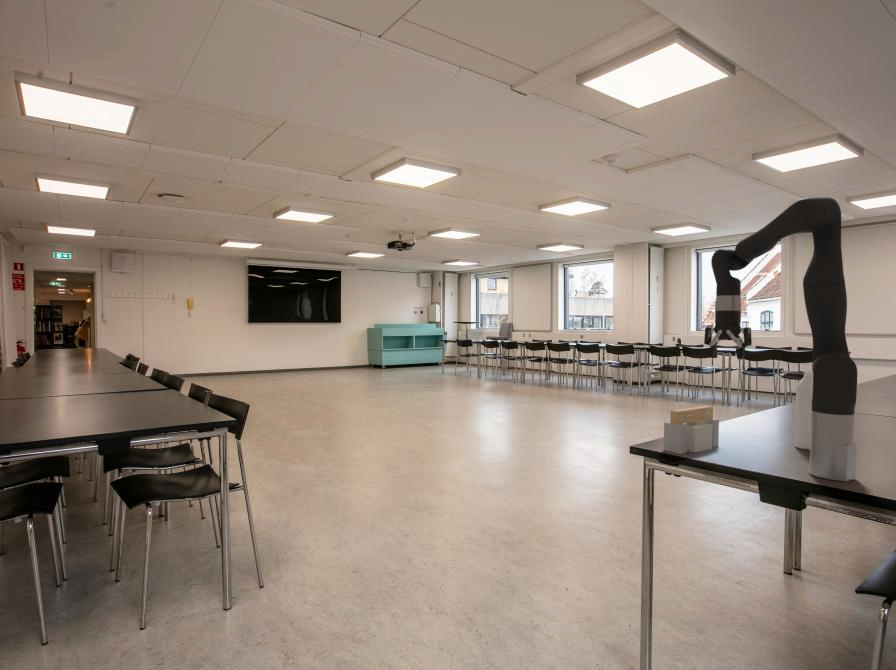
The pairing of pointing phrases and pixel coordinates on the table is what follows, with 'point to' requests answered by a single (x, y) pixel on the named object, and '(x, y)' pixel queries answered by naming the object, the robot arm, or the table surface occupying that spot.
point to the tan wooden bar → (691, 414)
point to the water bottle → (803, 411)
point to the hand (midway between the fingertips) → (726, 358)
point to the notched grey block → (691, 436)
